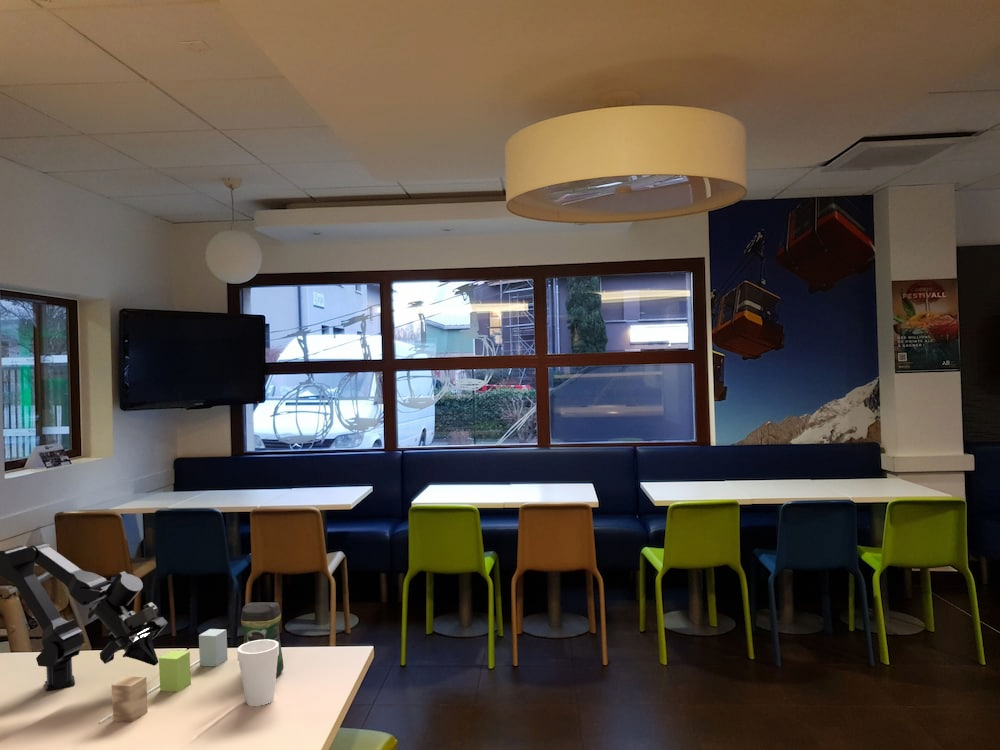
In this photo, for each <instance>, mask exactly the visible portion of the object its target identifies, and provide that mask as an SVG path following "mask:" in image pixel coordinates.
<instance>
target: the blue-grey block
mask: <svg viewBox="0 0 1000 750" xmlns="http://www.w3.org/2000/svg"><path fill="white" fill-rule="evenodd" d="M227 634H228V633H227V629H223V628H222V629H220V628H219V629H218V628H209V629H207V630H206V631H204V632H202V633H200V634H199V635H198V648H199V649H198V651H199V652H198V653H199V659H200V662H199V666H201V667H202V666H204V667H205V666H207V667H219V665H221V664H223V663H225V662H226V661H227V660H228V658H229V657H228V639H227V638H228V637H227V636H228V635H227Z"/></svg>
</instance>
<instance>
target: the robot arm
mask: <svg viewBox="0 0 1000 750" xmlns="http://www.w3.org/2000/svg"><path fill="white" fill-rule="evenodd" d="M35 565H37V566H39V567H40V568H41V569H42V570H43V571H45V572H47V573H49V575H51V576H53V577H54V578H55V579H57V580H58V581H59V582H61V583H62V584H63V585H64V586H66V587H67V591H68V594H69V595H70V597H72V598H73V600H74V601H76V603H77V604H78V605H81V606H87V605H90V604H92V603H95V602H96V604H95V605H93V606H90V607H89V608H88V614H87V619H88V620H91V619H94V618H95V617H97V618H98V619H99V620H100V622H101V623H102V624H103V625H104V627H105V628H107V630H106V631H105V634H106V635H108V636H110V635H111V634H112V635H113V636H114V638H113V639H112V640H111V639H110V641H109V642H108V643H107V644H106V645H105V646H104V648H103V649H102V650H101V651H100V652H99V658H100V661H102V662H103V664H104V665H106V664H109V663H110V662H111V661H113V660H114V659H115V653H118V652H119V651H122V650H123V651H124V653H123V654H122V658H129V659H132V660H133V659H134V660H137V661H140V662H143V663H145V664H148V665H151V666H157V664H159V657H158V656H157V653H156V650H155V648H154V645H153V639H155V638H156V637H157V636H158V635H159V634H160V632H162V630H163V629H164V628H165V627H166V625H167V624H168V621H167V620H166V619H165V618H164V617H163V616H159V617H158V615H157V614H158V613H159V608H158V607H157V605H156V604H155V603H153V602H152V601H150V602H149V603H146V604H145V605H143V607H142V610H140V611H138V612H135V611H134V610H130V611H128V610H127V609H126V608H125V607H126V606H129V604H130V603H131V602H132V601H133V600H134V599H135V598H136V597H137V595H138V594H139V593H140V591H141V590H142V589H143V587H144V585H143V584H144V583H143V581H142V580H141V579H140V577H137V576H136V575H133V574H130V573H128V572H126V571H125V570H124V571H122V572H118V573H117V575H116V576H115V578H114V579H113V580H112V581H111V580H107V578H106V577H103V576H101V575H99V574H97V573H95V572H91V571H87V570H86V571H85V570H83V569H81V568H79V566H77V565H76V564H74V563H73V562H71V561H70V560H68V559H67V558H66V557H64V555H62V554H60V553H59V552H57V551H56V550H54V549H53V548H52V547H51V545H50V544H49V543H48V542H40V543H36V544H32V545H30V546H26V545H21V544H20V545H16V546H13V547H9V548H5V549H1V550H0V577H1V579H4V580H6V581H7V582H9V583H12V584H13V585H14V586H15V588H16V590H17V591H18V593H19V594H20V596H21V598H22V599H23V601H24V602H25V605H26V606H27V607H28V609H29V611H30V612H31V614H32V615H33V617H34V619H35V620H36V622H37V623H38V625H39V627H40V628H41V631H42V636H41V643H42V645H43V649H42V651H41V652H40V653H39V654H38V655H37V656H36V658H35V660H36V662H37V665H38V667H44V668H45V667H46V668H45V669H46V680H45V681H44V685H45V691H46V692H49V691H53V690H58V689H62V688H66V687H71V686H74V685H76V681H75V676H74V674H73V659H72V658H73V657H74V658H75V657H77V656H79V655H80V652H81V648H82V646H83V643H84V638H85V637H84V635H83V632H84V631H83V630H82V629H81V628H80V626H79V625H78V623H77V621H76V620H75V619H74V618H73V619H70V620H66V619H65V618H63V617H62V616H61V614H60V612H59V610H58V609H57V608H56V606H55V604H54V602H53V601H52V599H51V597H50V596H49V595H48V593H47V591H46V590H45V588H44V587H43V585H42V583H41V582H40V580H39V578H38V577H37V575H36V574H35Z"/></svg>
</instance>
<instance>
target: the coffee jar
mask: <svg viewBox="0 0 1000 750" xmlns="http://www.w3.org/2000/svg"><path fill="white" fill-rule="evenodd" d="M280 607H281V606H280V604H279V602H278V601H277V602H272V601H271V602H264V601H263V602H249V603H247V604H245V605H244V606H242V610H241V615H240V616H241V618H240V622H241V626H242V628H243V633H244V636H243V637H244V638H243V639H244V644H245V643H247V642H250V641H255V640H265V639H269V640H275V641H277V642H279V655H278V660H277V671H276V677H277V676H279V675H280V674H282V672H283V670H284V659H283V652H282V646H281V640H280V639H281V637H280V622H281V619H282V618H281V617H282V613H281V609H280Z"/></svg>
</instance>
